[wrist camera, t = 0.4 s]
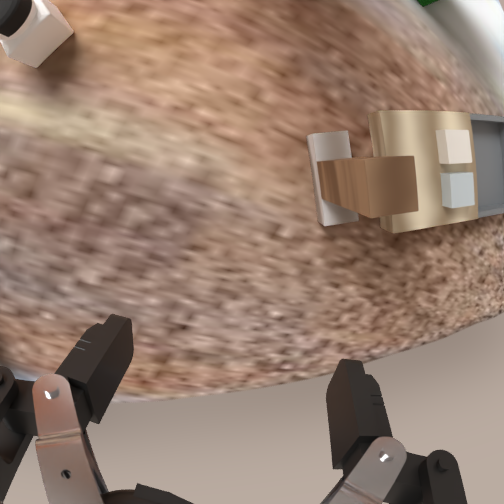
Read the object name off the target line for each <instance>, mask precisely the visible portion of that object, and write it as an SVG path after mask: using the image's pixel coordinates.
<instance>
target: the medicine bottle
mask: <svg viewBox="0 0 504 504" xmlns="http://www.w3.org/2000/svg"><path fill="white" fill-rule="evenodd" d="M73 32H74V31H73V29H72V28H71V26H70V25H69V24H68V22H67V21H66V19H65V18H64V17H63V15H62V14H61V12H60V11H59V9H58V8H57V7H56V6H55V5H54V4H52V3H51V2H50V1H49V0H0V42H1V44H2V46H3V48H4V50H5V52H6V54H7V56H8V57H9V58H12V59H14V60H17V61H19V62H22V63H24V64H27V65H29V66H32V67H34V68H37V67H38V66H39V65H40V64H41V63H42V62H43V61H44V60H45V59H46V58H47V57H48V56H49V55H50V54H51V53H52V52H53V51H54V50H55V49H56V48H58V47H59V46H60V45H61V44H62V43H63V42H64V41H65V40H66V39H67V38H68V37H70V36H71V35H72V34H73Z"/></svg>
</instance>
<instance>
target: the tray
mask: <svg viewBox="0 0 504 504" xmlns="http://www.w3.org/2000/svg"><path fill="white" fill-rule="evenodd" d="M469 114H470V113H469ZM470 120H471V126H472V134H473V142H474V150H475V161H476V173H477V191H478V218H480V217H486V216H491V215H497V214H503V213H504V117H501V116H492V115H482V114H470Z"/></svg>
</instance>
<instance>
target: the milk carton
mask: <svg viewBox="0 0 504 504" xmlns="http://www.w3.org/2000/svg"><path fill="white" fill-rule="evenodd" d="M417 1H418V2H419V3H420V4H421V5H422V6H426V5H428V4H431V3H433V2H436V1H438V0H417Z"/></svg>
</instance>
